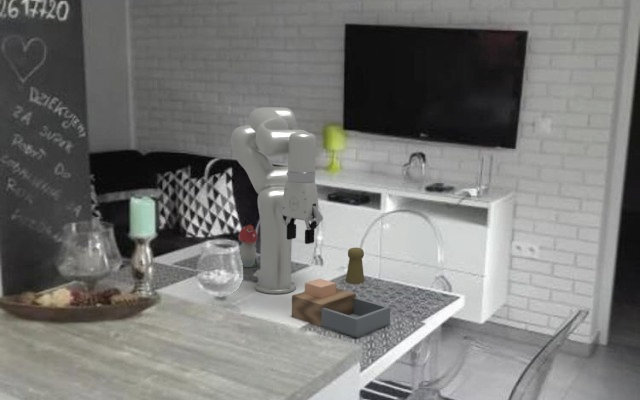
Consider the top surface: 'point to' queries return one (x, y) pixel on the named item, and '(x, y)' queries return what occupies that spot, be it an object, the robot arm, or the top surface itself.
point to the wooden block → (321, 305)
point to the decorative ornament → (248, 246)
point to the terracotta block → (320, 288)
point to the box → (357, 318)
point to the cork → (355, 266)
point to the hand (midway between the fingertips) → (300, 240)
